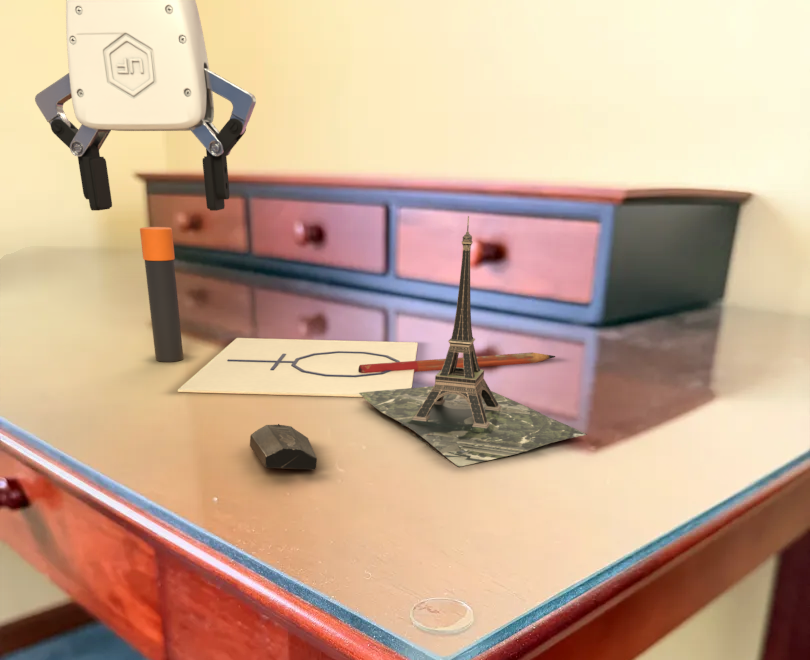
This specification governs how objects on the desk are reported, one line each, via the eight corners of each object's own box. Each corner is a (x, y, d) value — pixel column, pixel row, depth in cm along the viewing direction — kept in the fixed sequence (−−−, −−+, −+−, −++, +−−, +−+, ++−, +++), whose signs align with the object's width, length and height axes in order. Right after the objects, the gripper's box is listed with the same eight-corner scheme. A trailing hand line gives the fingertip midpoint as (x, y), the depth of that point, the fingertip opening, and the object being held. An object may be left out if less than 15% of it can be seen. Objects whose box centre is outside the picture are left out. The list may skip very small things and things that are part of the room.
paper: (177, 392, 63) (177, 388, 63) (236, 339, 81) (236, 336, 81) (410, 398, 63) (410, 394, 63) (417, 344, 81) (417, 341, 81)
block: (263, 481, 46) (261, 451, 45) (248, 448, 51) (246, 420, 51) (326, 475, 47) (325, 445, 47) (304, 443, 52) (303, 416, 52)
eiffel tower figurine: (591, 444, 53) (619, 225, 48) (458, 466, 49) (471, 229, 43) (469, 387, 65) (480, 206, 59) (353, 401, 61) (352, 208, 55)
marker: (150, 361, 72) (135, 229, 68) (159, 355, 75) (145, 226, 70) (179, 362, 72) (166, 229, 67) (188, 356, 74) (175, 227, 70)
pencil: (360, 378, 69) (360, 366, 69) (357, 374, 70) (357, 363, 69) (557, 363, 75) (558, 352, 75) (551, 360, 76) (552, 349, 76)
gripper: (-11, -49, 58) (36, 212, 65) (232, -52, 57) (252, 212, 64) (37, -27, 65) (75, 207, 72) (255, -30, 64) (270, 207, 71)
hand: (158, 209), depth 68 cm, fingers open, 9 cm apart
